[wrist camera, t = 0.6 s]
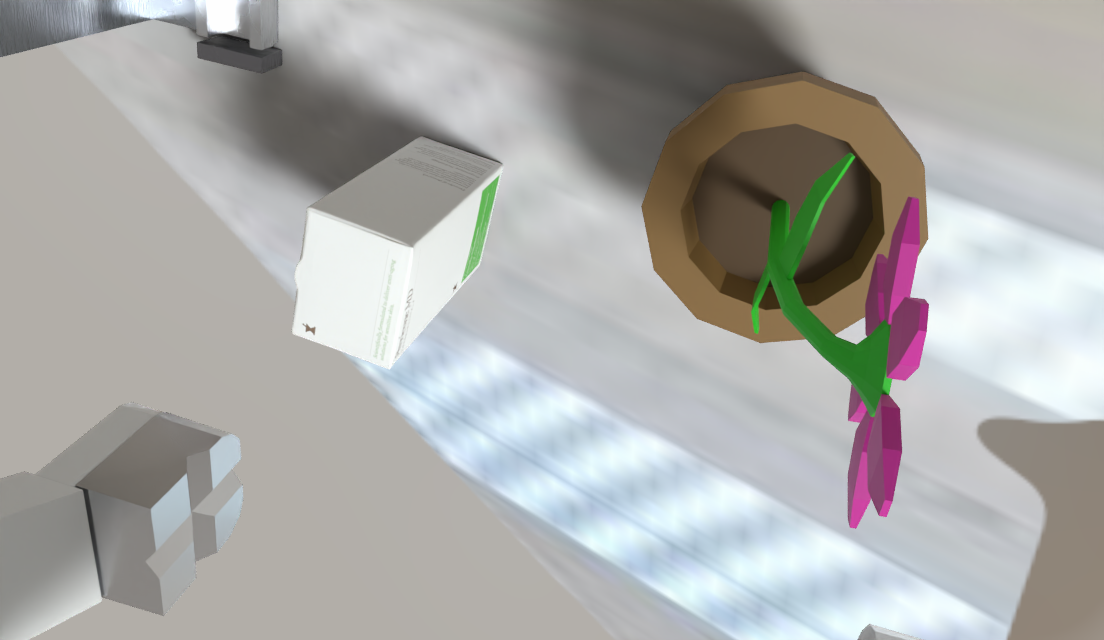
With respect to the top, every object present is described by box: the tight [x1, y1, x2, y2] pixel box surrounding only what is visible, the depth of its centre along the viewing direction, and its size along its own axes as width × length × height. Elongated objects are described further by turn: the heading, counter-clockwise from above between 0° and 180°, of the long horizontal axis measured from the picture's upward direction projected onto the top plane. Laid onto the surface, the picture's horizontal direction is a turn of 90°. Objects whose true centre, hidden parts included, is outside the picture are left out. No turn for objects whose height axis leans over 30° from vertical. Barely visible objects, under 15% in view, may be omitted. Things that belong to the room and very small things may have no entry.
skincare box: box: [292, 136, 503, 369], centre depth 53 cm, size 8×7×16 cm
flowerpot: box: [641, 71, 929, 528], centre depth 40 cm, size 14×14×30 cm
